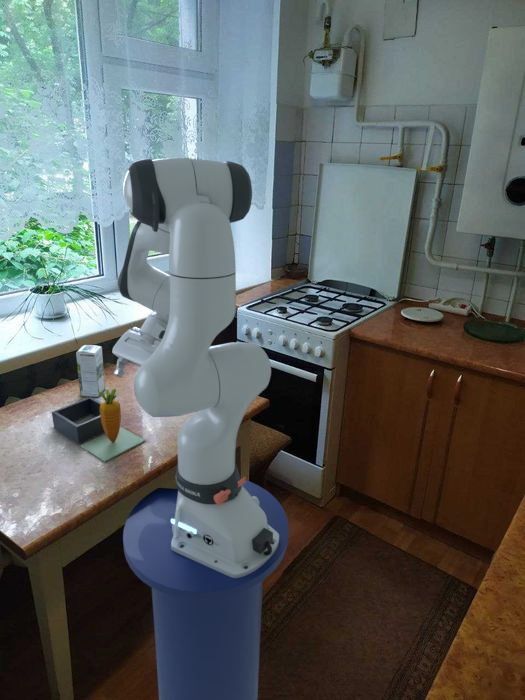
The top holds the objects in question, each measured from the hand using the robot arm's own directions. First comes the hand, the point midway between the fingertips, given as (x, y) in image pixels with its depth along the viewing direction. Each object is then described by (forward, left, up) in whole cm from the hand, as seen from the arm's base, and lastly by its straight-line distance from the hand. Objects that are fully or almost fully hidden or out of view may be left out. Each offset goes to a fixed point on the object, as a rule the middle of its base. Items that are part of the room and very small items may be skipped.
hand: (128, 381), depth 124 cm
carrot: (0, +6, -15) cm, 16 cm away
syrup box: (+28, -7, -16) cm, 33 cm away
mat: (0, +6, -15) cm, 17 cm away
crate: (+12, +6, -15) cm, 20 cm away
